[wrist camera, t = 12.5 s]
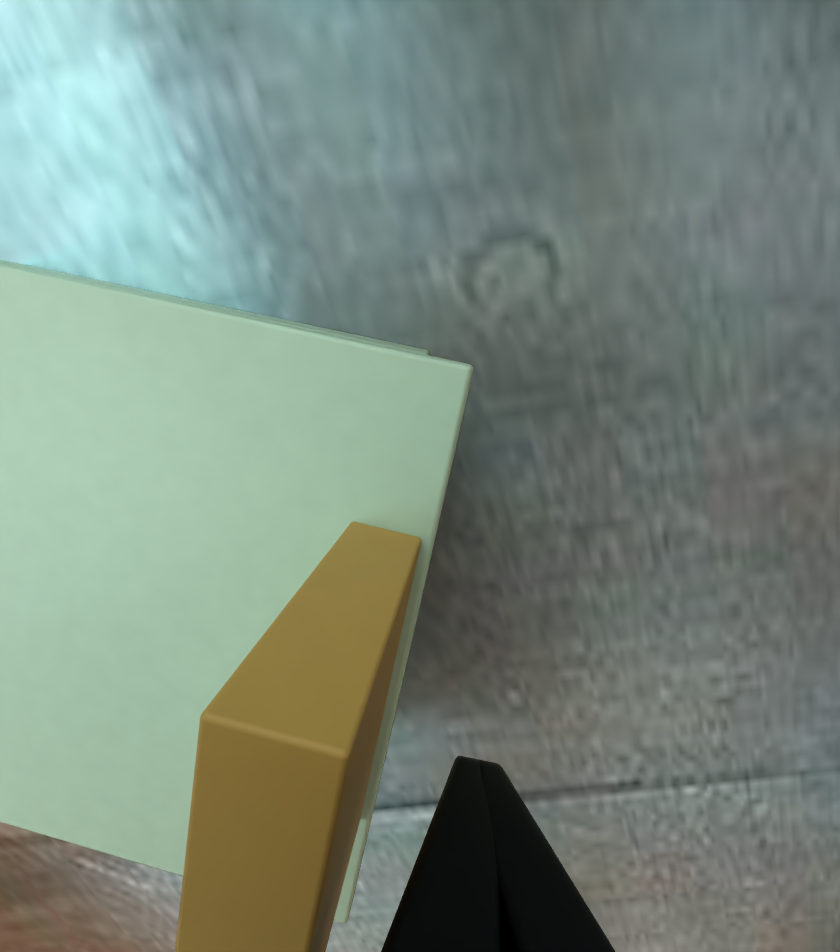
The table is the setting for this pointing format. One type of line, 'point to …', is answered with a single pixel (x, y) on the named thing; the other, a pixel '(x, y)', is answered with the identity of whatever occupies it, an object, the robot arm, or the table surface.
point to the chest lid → (210, 591)
